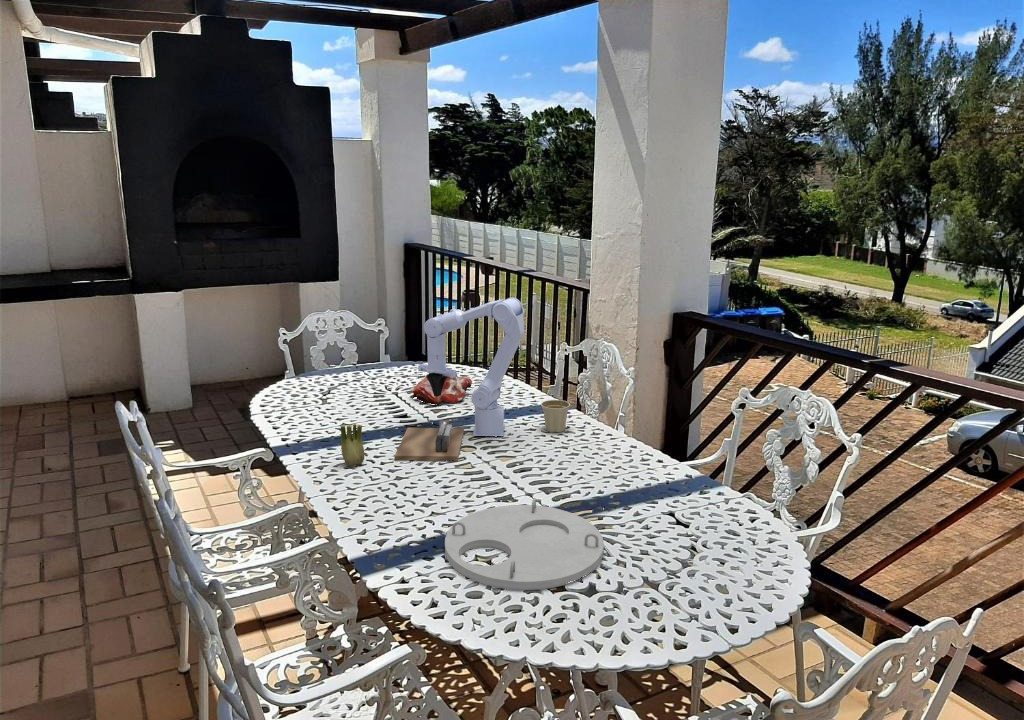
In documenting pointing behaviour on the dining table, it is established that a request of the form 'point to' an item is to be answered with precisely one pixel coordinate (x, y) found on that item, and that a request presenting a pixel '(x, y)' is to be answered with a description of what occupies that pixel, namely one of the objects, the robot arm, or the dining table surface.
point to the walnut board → (428, 445)
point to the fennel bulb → (352, 445)
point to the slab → (526, 546)
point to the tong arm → (441, 434)
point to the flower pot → (555, 414)
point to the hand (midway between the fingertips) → (437, 395)
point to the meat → (450, 392)
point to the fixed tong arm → (446, 438)
